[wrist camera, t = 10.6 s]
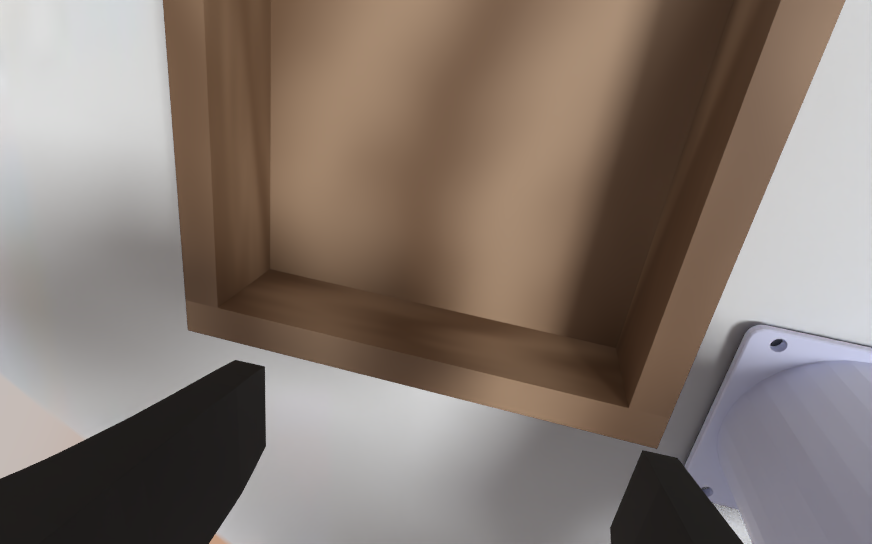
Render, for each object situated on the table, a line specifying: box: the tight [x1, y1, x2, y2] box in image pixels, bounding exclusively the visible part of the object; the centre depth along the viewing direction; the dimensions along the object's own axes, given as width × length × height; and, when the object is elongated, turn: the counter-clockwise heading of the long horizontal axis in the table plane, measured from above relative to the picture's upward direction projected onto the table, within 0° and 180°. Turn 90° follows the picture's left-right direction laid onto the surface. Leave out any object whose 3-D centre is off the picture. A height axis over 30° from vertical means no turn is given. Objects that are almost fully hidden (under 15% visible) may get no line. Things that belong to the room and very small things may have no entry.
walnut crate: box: [163, 0, 845, 449], centre depth 16 cm, size 16×14×4 cm
